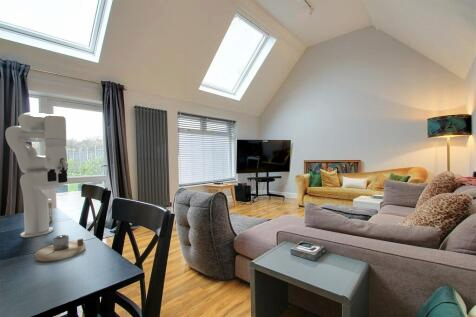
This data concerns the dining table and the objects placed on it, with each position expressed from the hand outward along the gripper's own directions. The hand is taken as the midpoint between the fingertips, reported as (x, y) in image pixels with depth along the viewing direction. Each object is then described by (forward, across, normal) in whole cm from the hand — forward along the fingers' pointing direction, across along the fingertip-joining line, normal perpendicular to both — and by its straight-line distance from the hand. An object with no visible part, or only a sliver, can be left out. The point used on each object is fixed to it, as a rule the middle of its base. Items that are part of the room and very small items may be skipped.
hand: (57, 181), depth 101 cm
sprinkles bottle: (+28, -48, +14) cm, 58 cm away
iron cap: (+26, +11, -4) cm, 29 cm away
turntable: (+28, +11, -4) cm, 31 cm away
